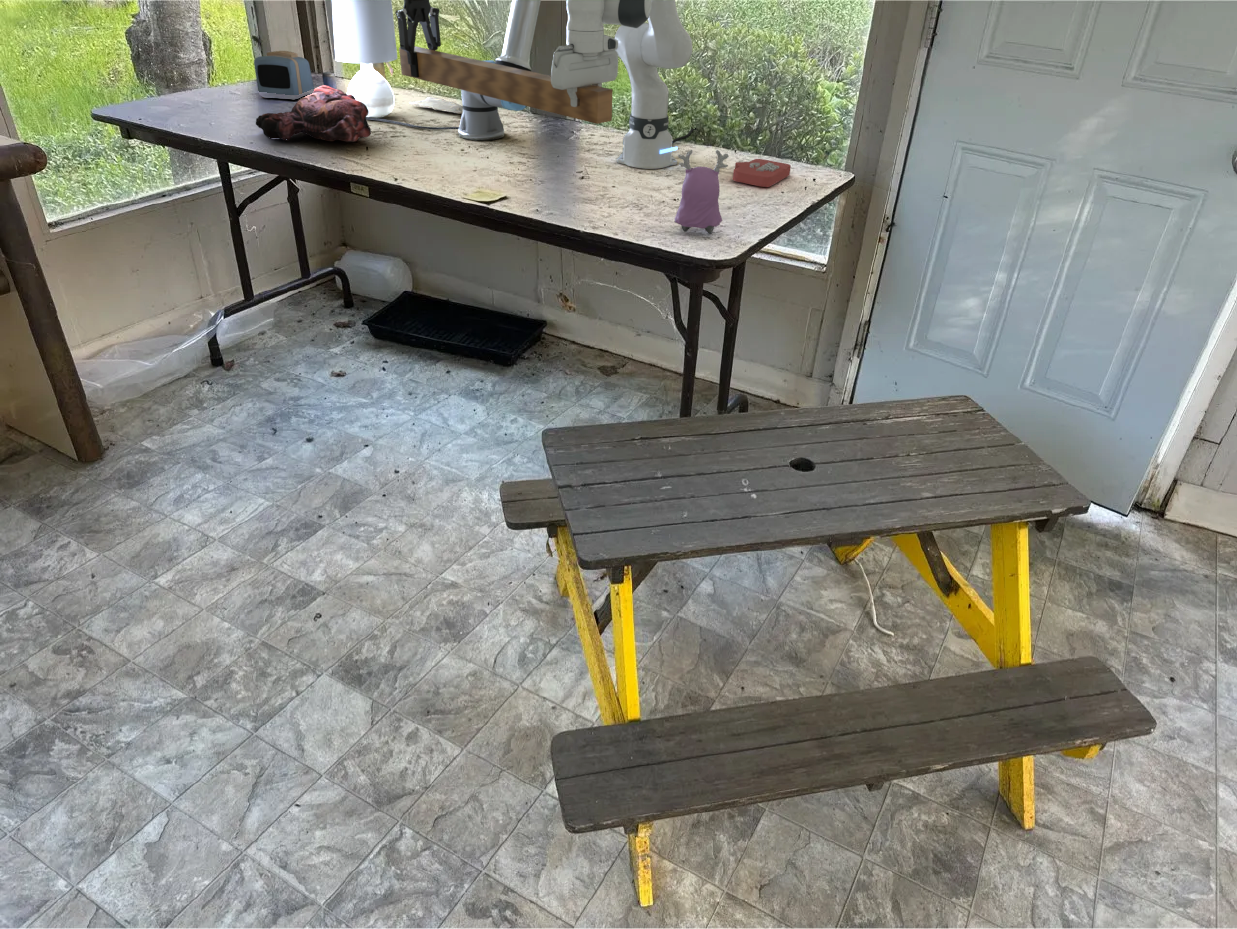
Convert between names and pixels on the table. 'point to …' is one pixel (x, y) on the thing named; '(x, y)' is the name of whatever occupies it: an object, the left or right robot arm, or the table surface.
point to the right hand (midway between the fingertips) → (584, 104)
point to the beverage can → (329, 79)
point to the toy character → (700, 195)
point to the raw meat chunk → (320, 117)
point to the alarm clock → (283, 73)
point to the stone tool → (439, 105)
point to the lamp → (364, 48)
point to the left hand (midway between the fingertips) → (423, 75)
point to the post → (509, 85)
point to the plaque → (760, 172)
